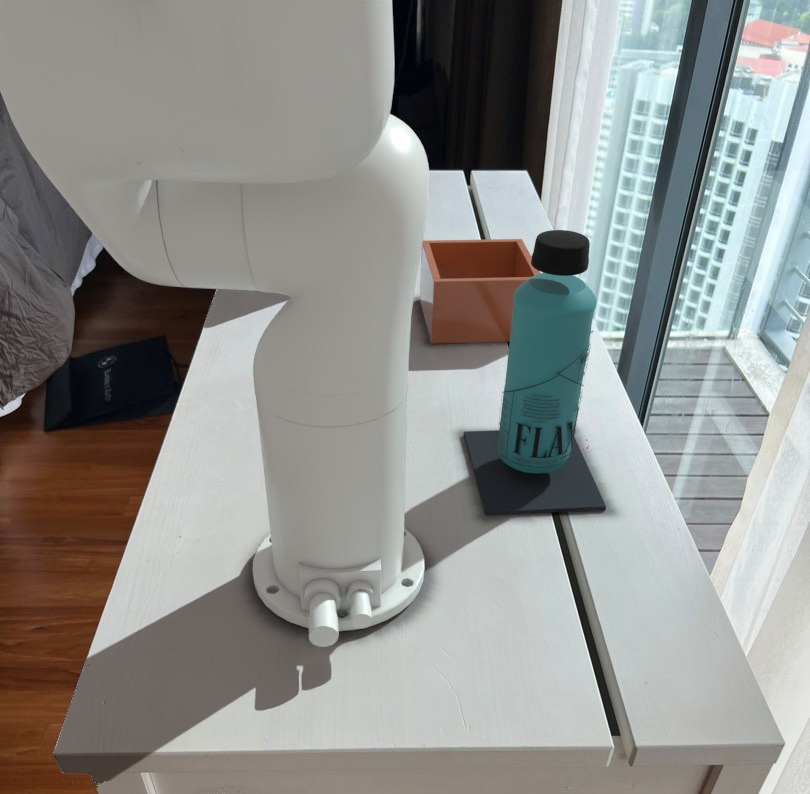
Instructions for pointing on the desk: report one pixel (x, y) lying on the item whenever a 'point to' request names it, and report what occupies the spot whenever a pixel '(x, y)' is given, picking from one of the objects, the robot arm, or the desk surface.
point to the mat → (530, 482)
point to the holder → (471, 288)
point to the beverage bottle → (547, 355)
